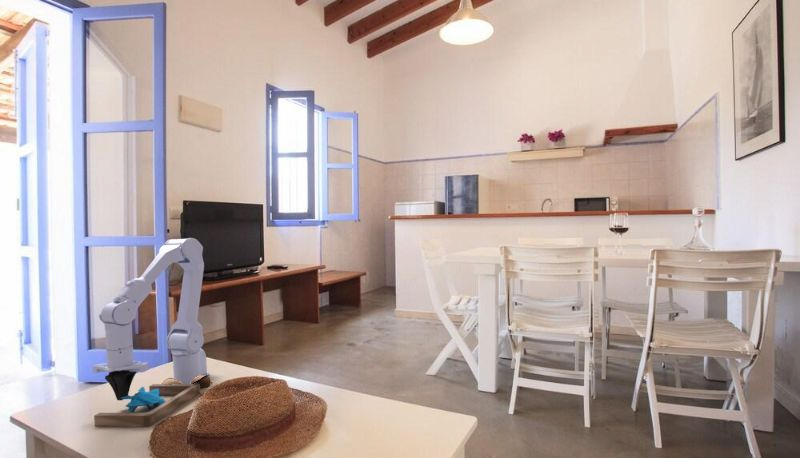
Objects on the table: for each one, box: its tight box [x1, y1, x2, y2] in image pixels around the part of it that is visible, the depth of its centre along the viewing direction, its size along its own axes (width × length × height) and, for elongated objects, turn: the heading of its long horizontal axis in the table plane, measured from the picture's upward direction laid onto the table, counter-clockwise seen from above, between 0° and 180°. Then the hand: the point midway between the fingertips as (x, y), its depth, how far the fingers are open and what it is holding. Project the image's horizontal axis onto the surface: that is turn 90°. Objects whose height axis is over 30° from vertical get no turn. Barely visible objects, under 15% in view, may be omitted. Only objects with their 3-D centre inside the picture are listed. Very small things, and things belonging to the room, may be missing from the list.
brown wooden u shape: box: [93, 383, 201, 427], centre depth 103 cm, size 19×14×2 cm
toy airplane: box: [120, 386, 166, 413], centre depth 104 cm, size 12×10×4 cm
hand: (122, 398), depth 104 cm, fingers closed
